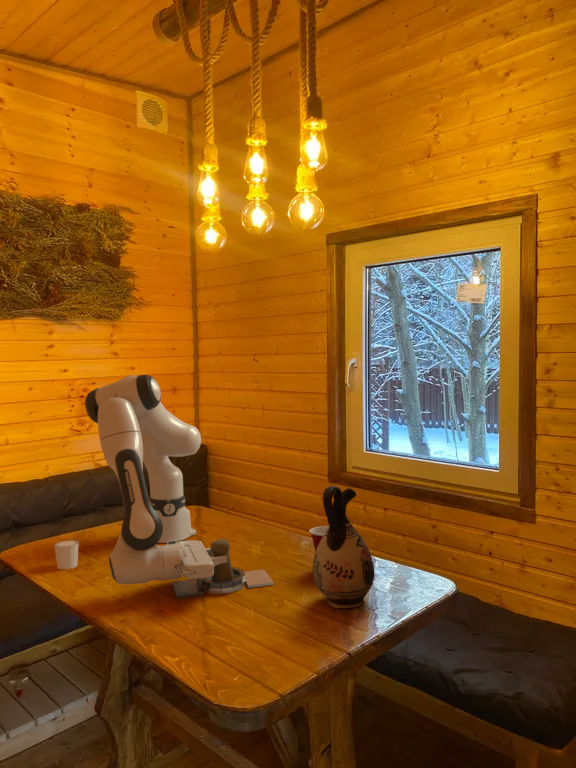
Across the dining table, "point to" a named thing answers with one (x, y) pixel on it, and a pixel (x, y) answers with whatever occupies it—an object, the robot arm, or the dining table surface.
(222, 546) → the cork
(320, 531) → the plastic cup
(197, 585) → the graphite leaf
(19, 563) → the dining table surface
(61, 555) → the shot glass
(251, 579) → the ring
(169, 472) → the robot arm
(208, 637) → the dining table surface
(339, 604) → the ceramic jug
